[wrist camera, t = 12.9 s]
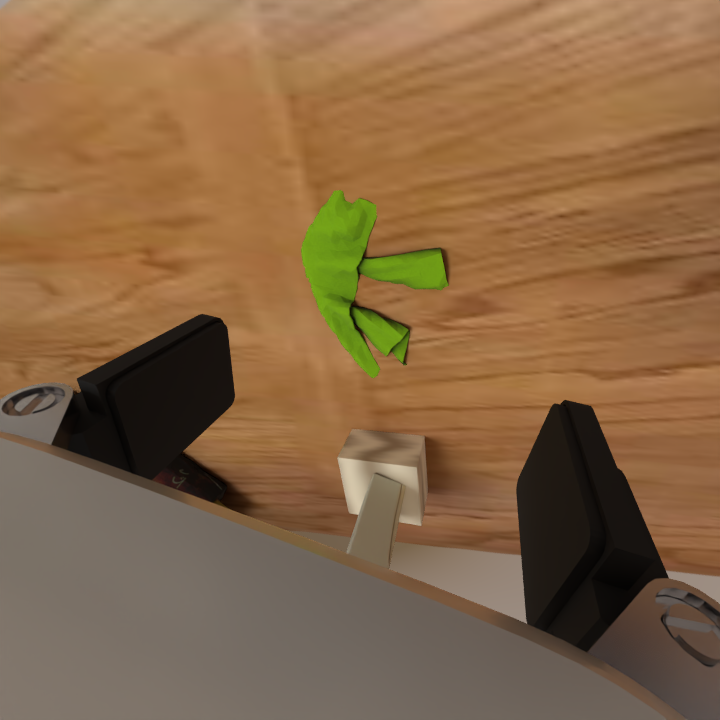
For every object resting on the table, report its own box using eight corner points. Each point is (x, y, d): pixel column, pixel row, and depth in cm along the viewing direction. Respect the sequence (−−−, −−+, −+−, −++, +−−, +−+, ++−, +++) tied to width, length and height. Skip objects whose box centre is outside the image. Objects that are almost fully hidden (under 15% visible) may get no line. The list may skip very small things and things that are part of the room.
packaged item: (249, 493, 65) (214, 542, 57) (234, 517, 70) (200, 565, 62) (71, 373, 65) (9, 404, 56) (70, 406, 70) (13, 439, 62)
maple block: (424, 434, 46) (416, 467, 41) (428, 490, 51) (421, 525, 46) (352, 427, 50) (337, 457, 45) (362, 480, 54) (348, 512, 49)
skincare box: (392, 514, 46) (371, 615, 36) (360, 502, 47) (330, 597, 36) (407, 483, 43) (388, 584, 33) (372, 470, 43) (343, 565, 33)
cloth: (318, 162, 35) (308, 162, 33) (528, 249, 33) (531, 254, 31) (280, 332, 46) (271, 340, 44) (436, 405, 44) (433, 417, 42)
